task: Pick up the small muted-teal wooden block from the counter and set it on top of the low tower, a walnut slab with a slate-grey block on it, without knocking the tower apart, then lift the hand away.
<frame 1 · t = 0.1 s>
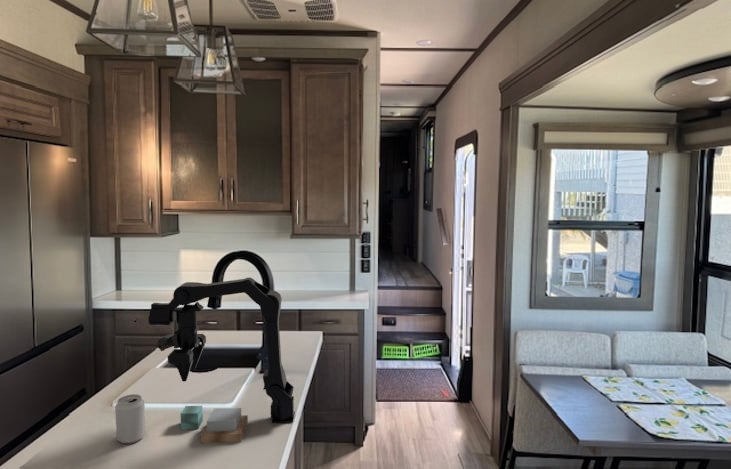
hand: (189, 375, 151), 14 cm above the countertop, tool pointing down, fingers open, 9 cm apart
teal block: (192, 425, 150), on the countertop
can: (131, 439, 142), on the countertop
walnut slab: (225, 434, 146), on the countertop, touching grey block
grey block: (224, 424, 146), point 2 cm above the countertop, touching walnut slab
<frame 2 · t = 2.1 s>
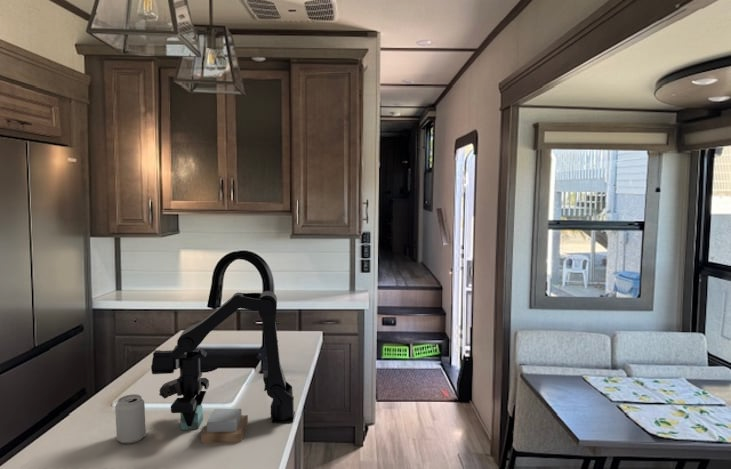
hand: (192, 421, 150), 1 cm above the countertop, tool pointing down, fingers closed on teal block, 5 cm apart
teal block: (192, 425, 150), on the countertop, touching gripper
walnut slab: (225, 434, 146), on the countertop
grey block: (224, 425, 145), point 2 cm above the countertop
everything else where it was.
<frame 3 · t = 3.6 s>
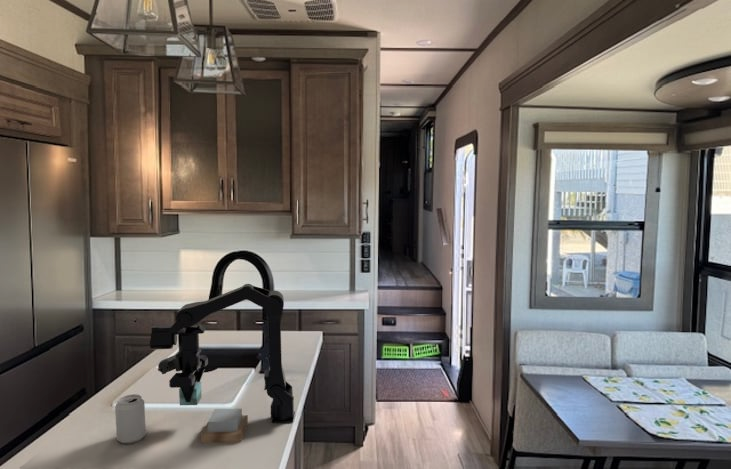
hand: (190, 398, 149), 8 cm above the countertop, tool pointing down, fingers closed on teal block, 5 cm apart
teal block: (190, 401, 149), point 7 cm above the countertop, touching gripper
walnut slab: (225, 434, 146), on the countertop, touching grey block
grey block: (225, 424, 145), point 2 cm above the countertop, touching walnut slab
everything else where it was.
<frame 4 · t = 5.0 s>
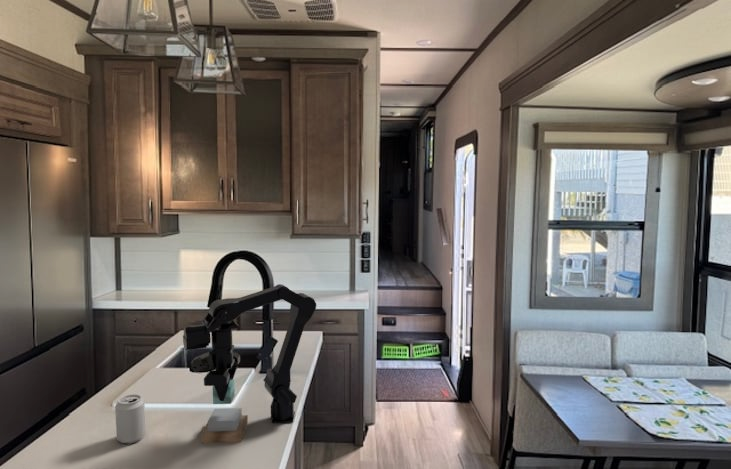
hand: (224, 396, 145), 11 cm above the countertop, tool pointing down, fingers closed on teal block, 5 cm apart
teal block: (224, 400, 145), point 10 cm above the countertop, touching gripper
everything else where it was.
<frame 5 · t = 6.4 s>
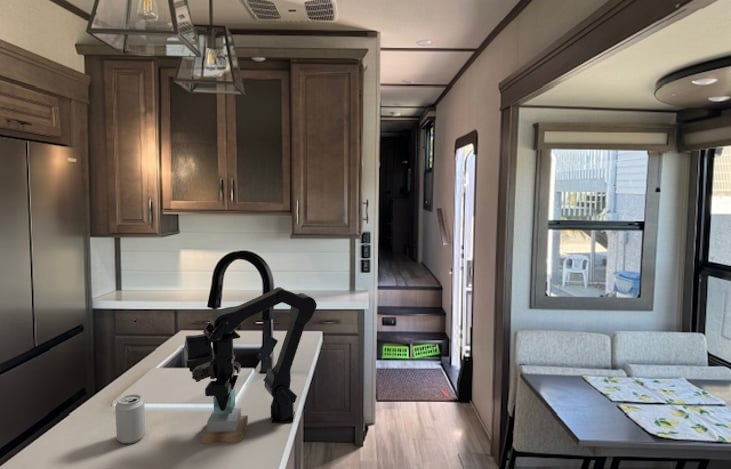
hand: (224, 406, 145), 8 cm above the countertop, tool pointing down, fingers closed on teal block, 5 cm apart
teal block: (224, 409, 145), point 7 cm above the countertop, touching gripper
everything else where it was.
when the fingers open (8 cm above the countertop, at t = 6.4 s): teal block drops 2 cm, resting on grey block.
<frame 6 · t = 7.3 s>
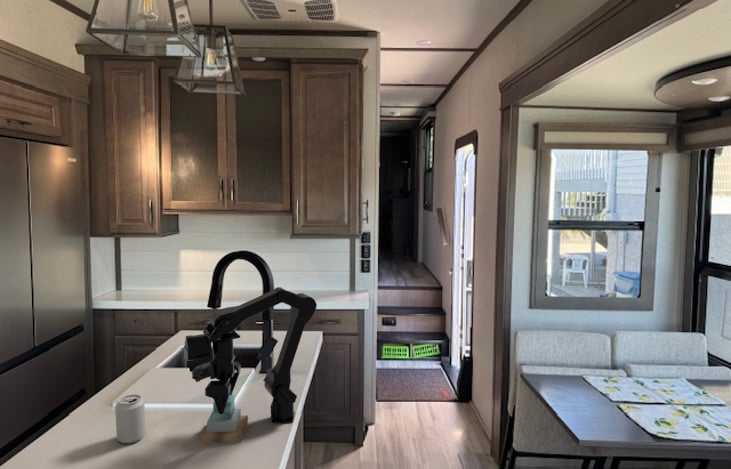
hand: (224, 406, 145), 8 cm above the countertop, tool pointing down, fingers open, 9 cm apart
teal block: (224, 415, 145), point 5 cm above the countertop, touching grey block
grey block: (224, 424, 145), point 2 cm above the countertop, touching teal block, walnut slab
everything else where it was.
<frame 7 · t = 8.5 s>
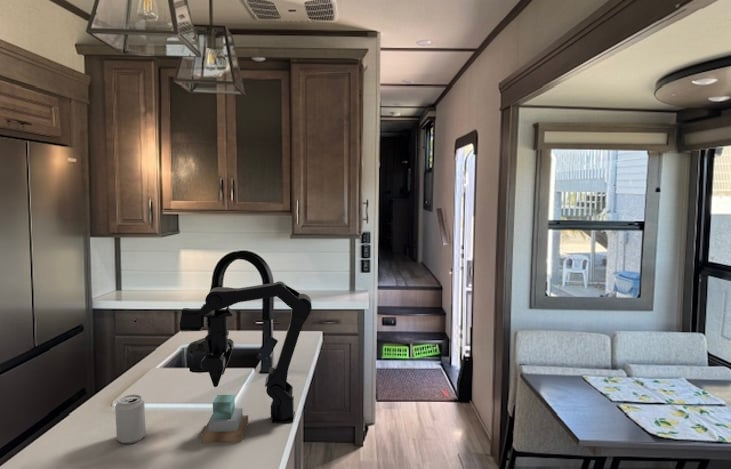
hand: (218, 380, 151), 13 cm above the countertop, tool pointing down, fingers open, 9 cm apart
nothing on the countertop moved.
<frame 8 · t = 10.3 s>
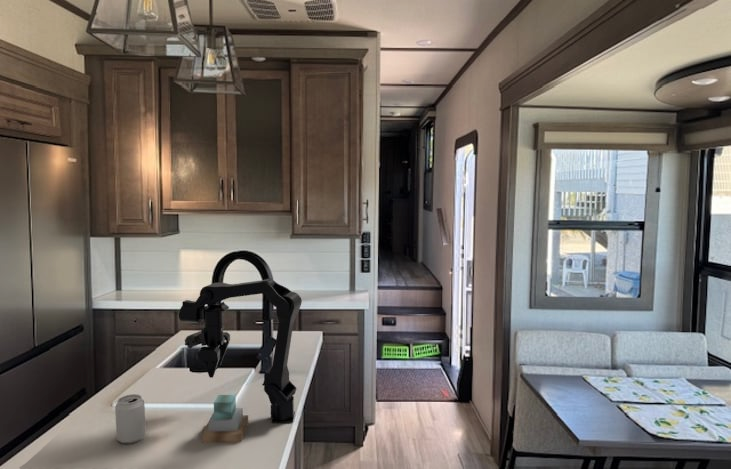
hand: (215, 371, 158), 13 cm above the countertop, tool pointing down, fingers open, 9 cm apart
nothing on the countertop moved.
at the end: teal block 0.5 cm off-centre on the grey block, point 3.0 cm above the grey block's base; teal block tilted 0°; grey block 0.4 cm from the target spot, point 2.3 cm above the countertop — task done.
